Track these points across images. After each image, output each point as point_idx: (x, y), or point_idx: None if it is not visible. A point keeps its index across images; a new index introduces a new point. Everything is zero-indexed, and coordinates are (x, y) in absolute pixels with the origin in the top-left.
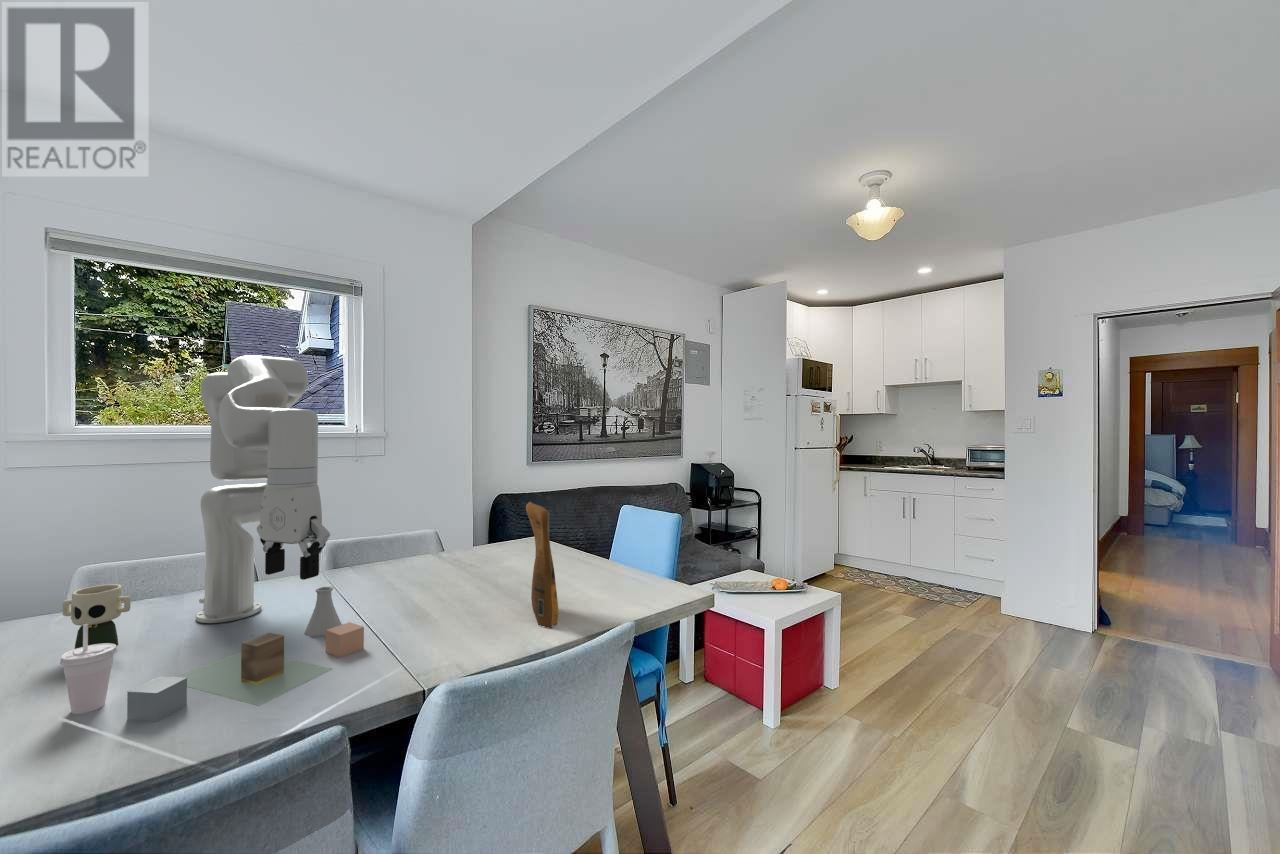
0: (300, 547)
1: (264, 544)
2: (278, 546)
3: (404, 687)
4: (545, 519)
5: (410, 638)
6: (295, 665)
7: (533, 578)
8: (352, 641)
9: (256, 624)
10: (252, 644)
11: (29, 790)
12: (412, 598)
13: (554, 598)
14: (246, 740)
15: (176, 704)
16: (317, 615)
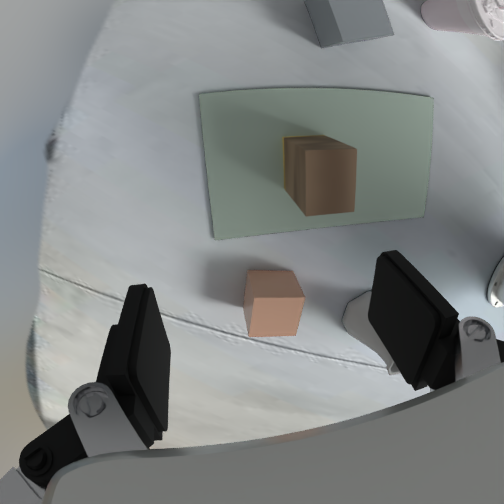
0: (135, 439)
1: (497, 346)
2: (438, 384)
3: (59, 257)
4: None
5: (213, 360)
6: (293, 217)
7: None
8: (248, 305)
9: (469, 276)
10: (325, 152)
11: None
12: (334, 417)
13: None
14: (112, 37)
15: (321, 28)
16: None
